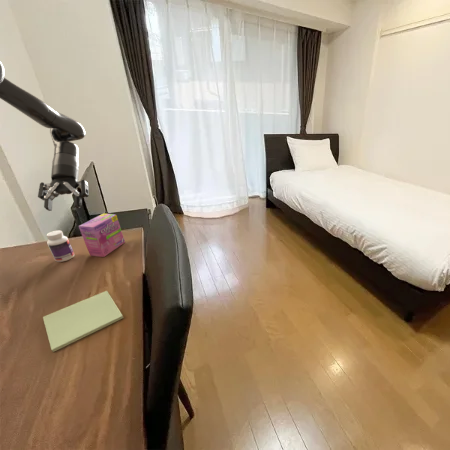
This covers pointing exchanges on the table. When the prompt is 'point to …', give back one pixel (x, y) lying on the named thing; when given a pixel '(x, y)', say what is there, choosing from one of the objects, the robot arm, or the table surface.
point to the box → (102, 234)
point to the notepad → (80, 320)
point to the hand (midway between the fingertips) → (63, 208)
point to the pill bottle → (59, 246)
